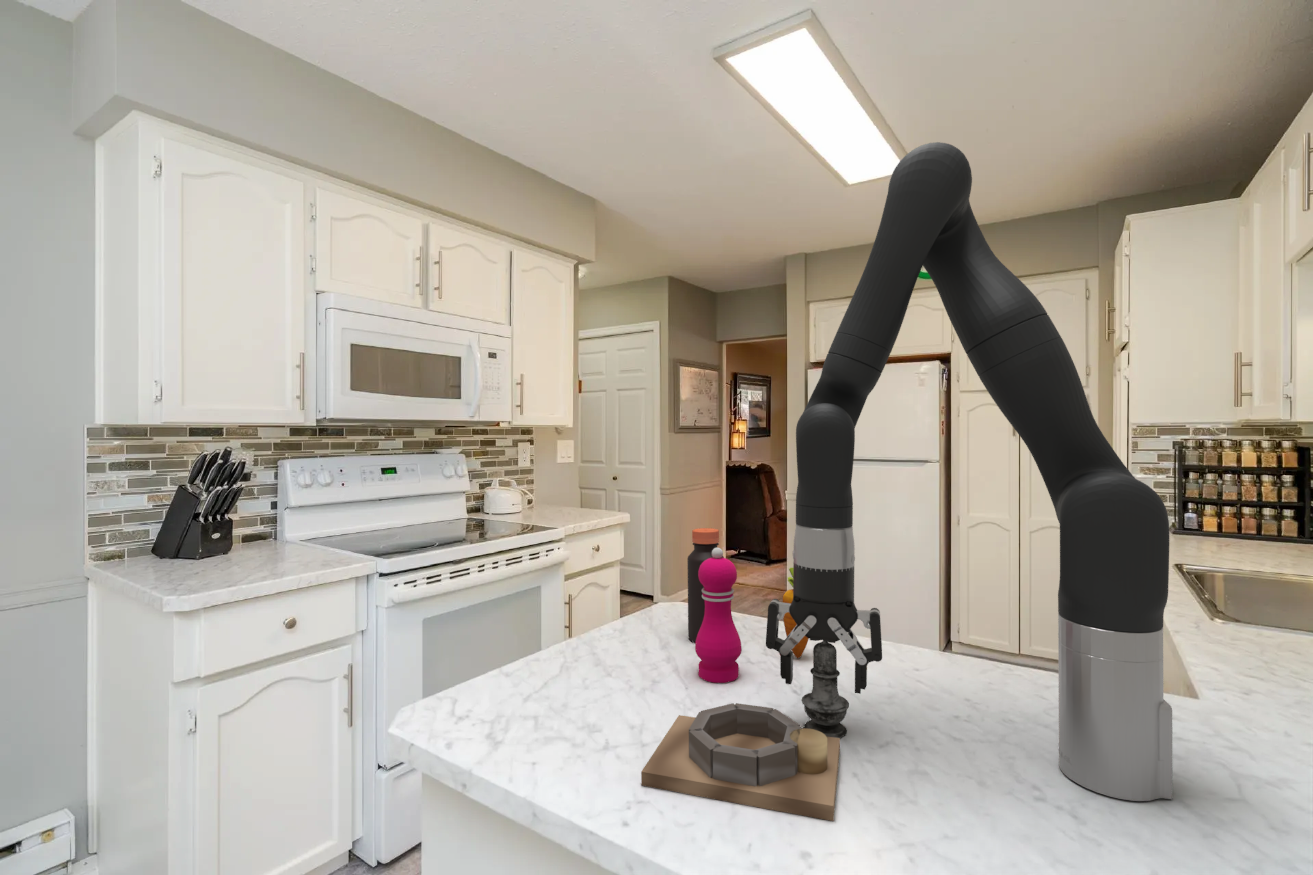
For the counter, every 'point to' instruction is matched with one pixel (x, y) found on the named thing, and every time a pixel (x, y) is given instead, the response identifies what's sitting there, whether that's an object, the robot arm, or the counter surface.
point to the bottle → (702, 551)
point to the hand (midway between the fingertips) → (822, 686)
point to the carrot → (790, 622)
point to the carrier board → (748, 761)
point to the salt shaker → (825, 694)
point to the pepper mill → (718, 621)
